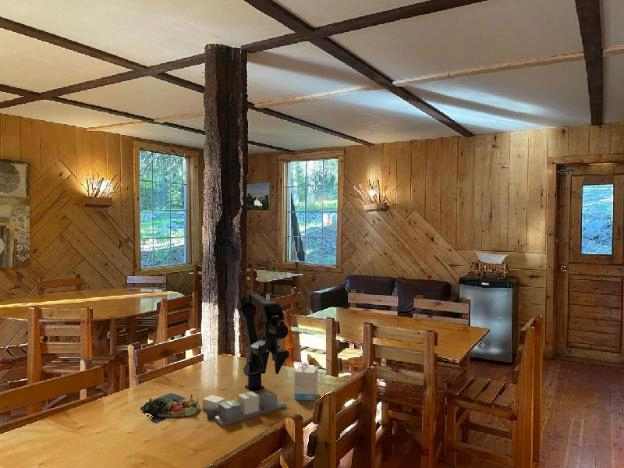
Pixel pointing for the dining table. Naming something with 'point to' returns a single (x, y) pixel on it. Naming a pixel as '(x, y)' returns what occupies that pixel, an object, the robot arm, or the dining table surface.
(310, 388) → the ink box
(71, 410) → the dining table surface
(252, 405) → the loose module
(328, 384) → the dining table surface
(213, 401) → the block
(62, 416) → the dining table surface
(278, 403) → the rail
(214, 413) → the black knob
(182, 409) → the plated dish
